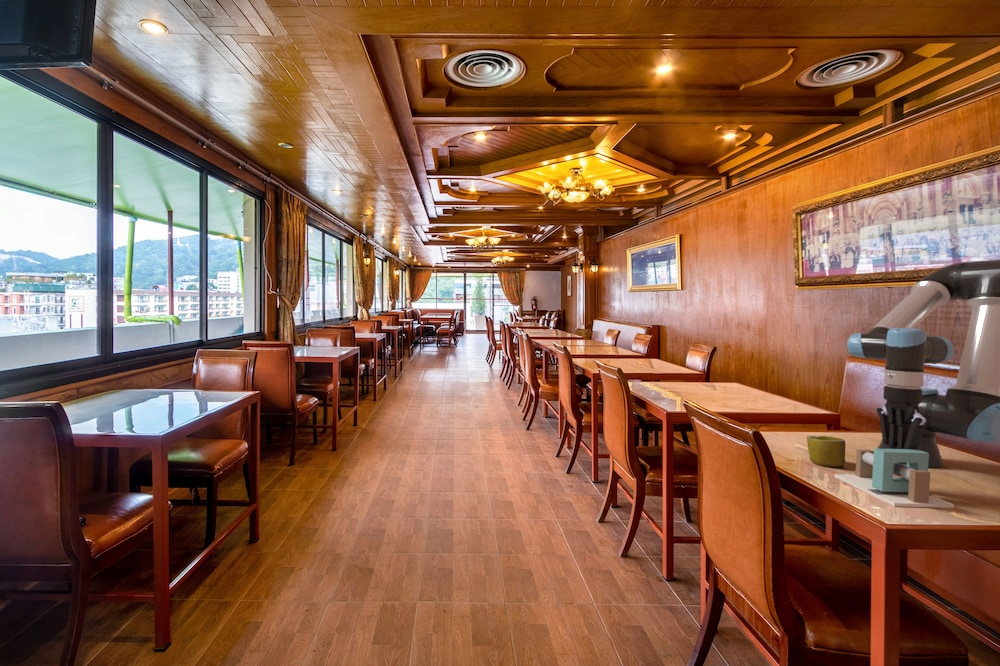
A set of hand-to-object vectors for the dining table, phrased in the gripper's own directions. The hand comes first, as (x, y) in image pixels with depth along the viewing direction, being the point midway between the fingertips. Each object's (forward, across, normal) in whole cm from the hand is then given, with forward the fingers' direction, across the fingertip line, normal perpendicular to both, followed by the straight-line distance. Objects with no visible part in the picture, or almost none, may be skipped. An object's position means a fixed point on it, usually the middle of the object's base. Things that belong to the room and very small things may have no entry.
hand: (897, 474), depth 114 cm
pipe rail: (+4, +2, -4) cm, 6 cm away
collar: (+2, +5, -4) cm, 7 cm away
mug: (+4, -20, -5) cm, 21 cm away
